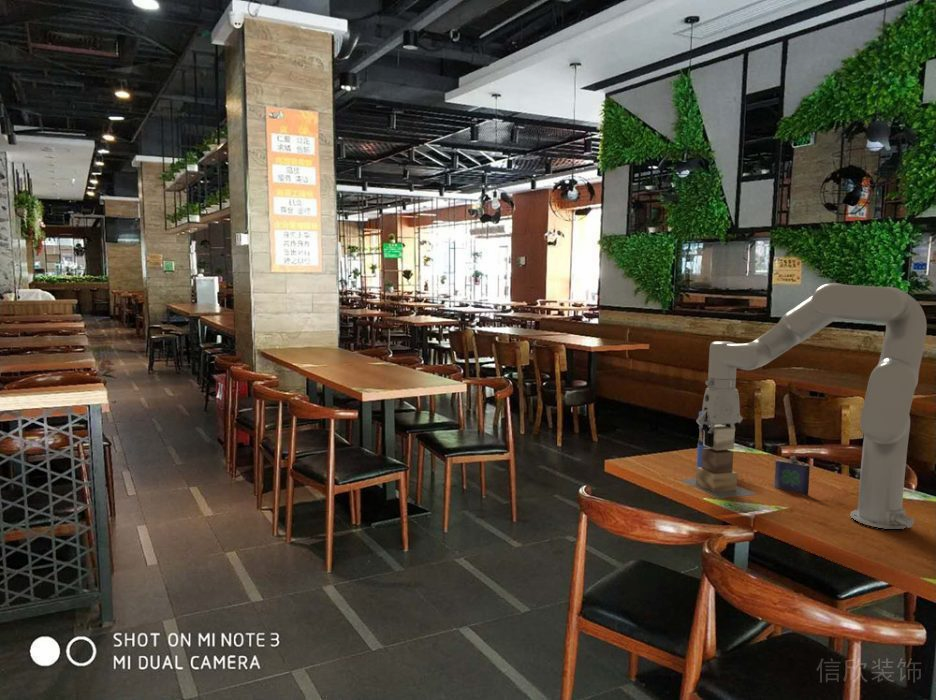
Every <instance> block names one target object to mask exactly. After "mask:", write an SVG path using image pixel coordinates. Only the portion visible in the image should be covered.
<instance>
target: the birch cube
mask: <svg viewBox="0 0 936 700" xmlns="http://www.w3.org/2000/svg"><path fill="white" fill-rule="evenodd" d="M709 427H710V425H709ZM735 432H736V429H734V428H731V427H727V426H724V425H715V426H714V429H713V432H712V433H713V434H714V440H713V447H709V446H706V445H705V444H704V443H705V442H704V439H705V432H704V435H703V446H705V447H708V448H711V449H714V450H716V451H717V450H729V451H731V450H735V435H736V434H735Z"/></svg>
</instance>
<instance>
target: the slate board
mask: <svg viewBox="0 0 936 700" xmlns="http://www.w3.org/2000/svg"><path fill="white" fill-rule="evenodd" d="M680 481H681V482H683V483H685V484H688V485H690V486H692V487H694V488H697V489H698V490H700V491H703V492H705V493H707V494H709V495H712V496H714V497H715V498H717V499H726V498H735V497H736V498H737V497H747V496H755V495H758V493H755V492H753V491H752V490H751V491H750V490H748V489H746V488H744V487H741V486H739V485H737V490H730V491H720V492H712V491H710V490H708V489H706V488H703V487H701V486H699V485H697V484H696V477H695V478H694V477H693V478H683V479H680Z"/></svg>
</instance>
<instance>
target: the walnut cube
mask: <svg viewBox="0 0 936 700" xmlns="http://www.w3.org/2000/svg"><path fill="white" fill-rule="evenodd" d="M733 463H734V451H732V450H717V451H716V450H714V449H711V448H703V451H702V469H705V470H707V471H709V472H712V473H714V474H720V473H731V472H732V471H733V466H734V465H733Z"/></svg>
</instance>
